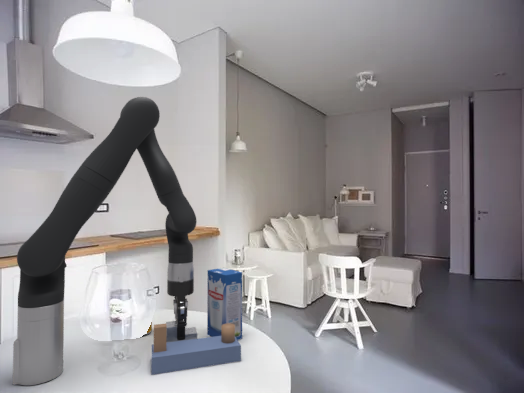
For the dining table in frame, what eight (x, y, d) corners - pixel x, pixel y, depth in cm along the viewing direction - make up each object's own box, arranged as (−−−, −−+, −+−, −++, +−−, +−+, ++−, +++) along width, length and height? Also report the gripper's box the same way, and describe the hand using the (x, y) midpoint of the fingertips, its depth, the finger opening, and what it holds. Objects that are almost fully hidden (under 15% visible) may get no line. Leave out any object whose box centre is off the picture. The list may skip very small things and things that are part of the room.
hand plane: (151, 374, 79) (151, 332, 79) (151, 360, 86) (151, 321, 87) (240, 361, 86) (240, 322, 86) (233, 348, 93) (233, 312, 94)
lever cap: (164, 344, 93) (164, 328, 93) (164, 337, 97) (164, 322, 98) (197, 340, 96) (197, 324, 96) (195, 333, 100) (195, 318, 100)
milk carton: (207, 334, 104) (207, 270, 104) (223, 329, 108) (223, 267, 108) (225, 344, 96) (225, 275, 97) (242, 338, 100) (242, 272, 101)
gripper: (166, 273, 103) (165, 328, 102) (168, 283, 89) (168, 347, 89) (190, 271, 105) (190, 326, 104) (196, 281, 91) (196, 344, 91)
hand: (180, 335), depth 97 cm, fingers closed on lever cap, 5 cm apart
